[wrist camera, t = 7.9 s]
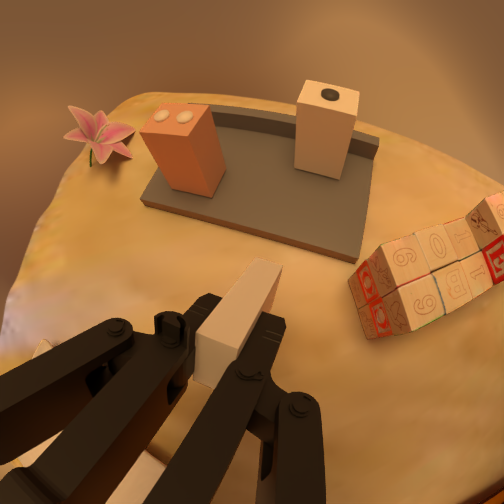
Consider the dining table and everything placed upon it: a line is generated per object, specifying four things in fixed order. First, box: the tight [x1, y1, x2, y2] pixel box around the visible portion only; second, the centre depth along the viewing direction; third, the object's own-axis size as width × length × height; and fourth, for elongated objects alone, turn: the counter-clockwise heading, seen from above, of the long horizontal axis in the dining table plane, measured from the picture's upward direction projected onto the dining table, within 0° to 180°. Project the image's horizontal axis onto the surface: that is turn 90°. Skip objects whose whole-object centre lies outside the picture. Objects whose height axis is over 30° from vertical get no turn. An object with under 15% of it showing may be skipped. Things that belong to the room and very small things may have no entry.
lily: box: [63, 106, 135, 167], centre depth 31 cm, size 12×12×10 cm
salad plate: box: [18, 339, 167, 504], centre depth 18 cm, size 21×21×3 cm
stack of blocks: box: [348, 191, 504, 339], centre depth 18 cm, size 21×6×12 cm, turn 104°
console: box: [140, 103, 379, 264], centre depth 28 cm, size 24×14×4 cm, turn 71°
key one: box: [294, 80, 359, 180], centre depth 24 cm, size 5×4×9 cm
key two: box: [139, 103, 226, 198], centre depth 24 cm, size 5×4×9 cm
